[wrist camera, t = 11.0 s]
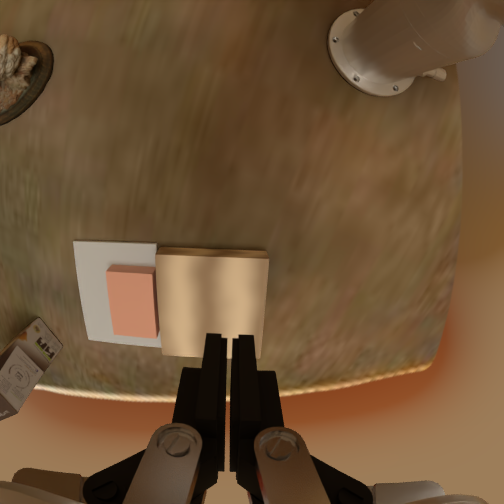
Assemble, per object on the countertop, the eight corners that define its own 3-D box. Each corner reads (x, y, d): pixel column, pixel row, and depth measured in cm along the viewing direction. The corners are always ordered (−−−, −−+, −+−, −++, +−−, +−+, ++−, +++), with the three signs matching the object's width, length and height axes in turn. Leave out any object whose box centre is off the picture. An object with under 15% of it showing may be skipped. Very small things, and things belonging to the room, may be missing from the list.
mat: (157, 242, 37) (156, 244, 37) (163, 345, 42) (162, 347, 41) (75, 240, 36) (73, 241, 36) (90, 337, 41) (88, 339, 40)
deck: (266, 250, 39) (269, 258, 36) (258, 346, 43) (260, 358, 40) (160, 246, 37) (155, 254, 35) (165, 342, 42) (162, 354, 39)
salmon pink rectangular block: (156, 267, 38) (152, 274, 35) (160, 329, 40) (156, 338, 38) (112, 264, 37) (105, 271, 35) (119, 325, 40) (113, 334, 38)
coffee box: (38, 314, 39) (-16, 375, 24) (64, 346, 41) (19, 413, 26) (14, 336, 40) (-34, 391, 25) (37, 364, 42) (-4, 424, 27)
